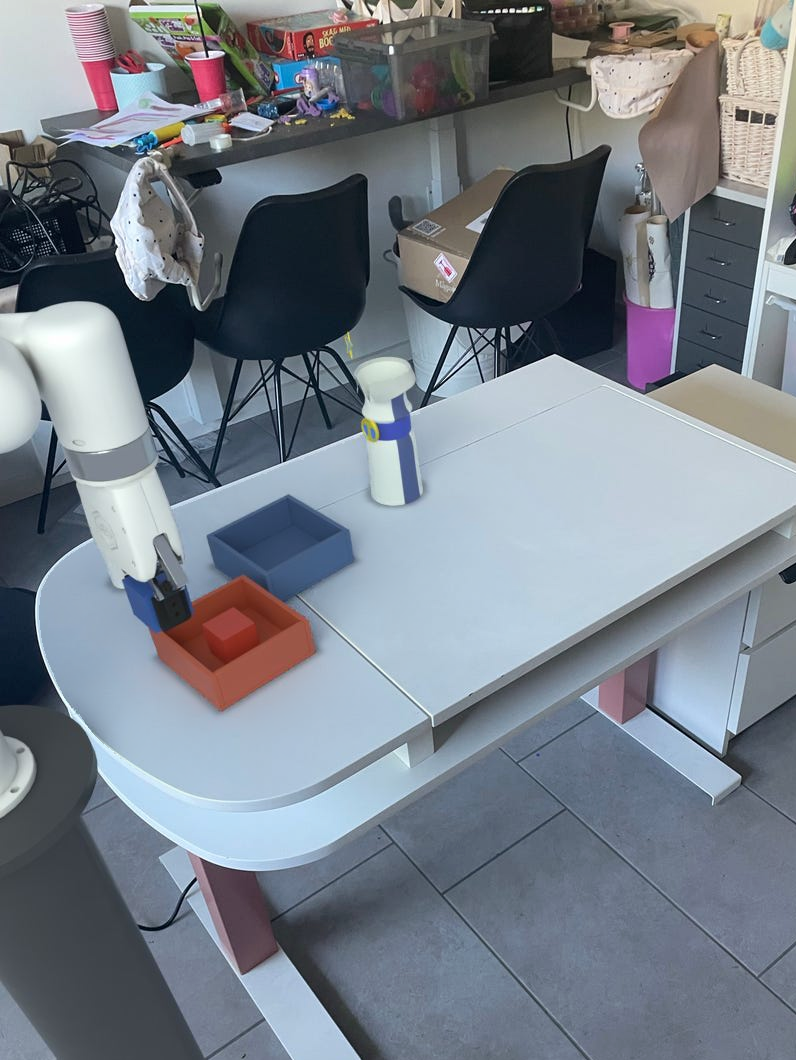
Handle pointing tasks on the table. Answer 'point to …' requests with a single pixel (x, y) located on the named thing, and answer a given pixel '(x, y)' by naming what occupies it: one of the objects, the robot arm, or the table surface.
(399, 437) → the water bottle
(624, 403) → the table surface
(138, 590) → the blue block
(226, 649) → the red block
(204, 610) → the red bin
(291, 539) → the blue bin
